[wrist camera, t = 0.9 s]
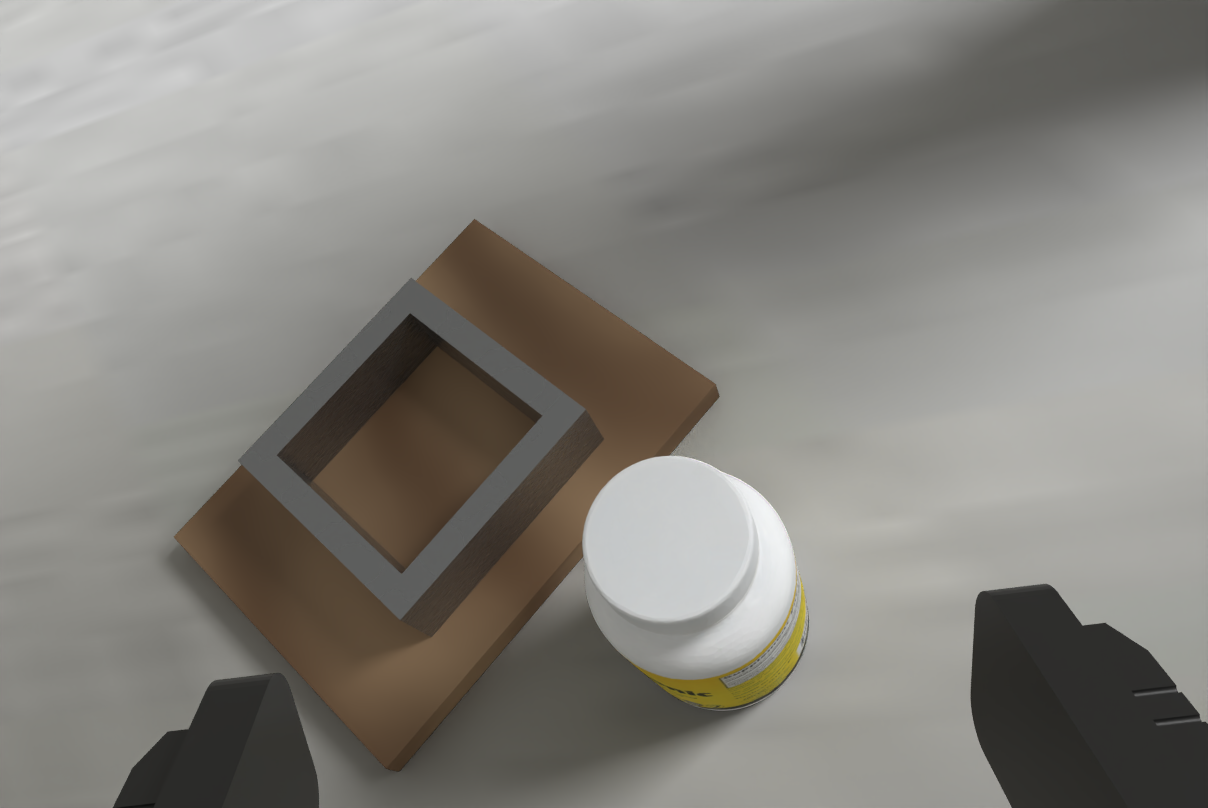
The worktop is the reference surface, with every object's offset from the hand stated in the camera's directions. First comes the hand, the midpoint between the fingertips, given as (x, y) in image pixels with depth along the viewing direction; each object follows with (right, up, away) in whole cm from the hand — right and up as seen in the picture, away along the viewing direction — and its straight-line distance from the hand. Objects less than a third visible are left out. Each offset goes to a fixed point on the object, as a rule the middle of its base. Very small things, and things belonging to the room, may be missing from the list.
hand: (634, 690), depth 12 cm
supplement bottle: (+3, -4, +20) cm, 21 cm away
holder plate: (-6, +1, +24) cm, 25 cm away
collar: (-6, +1, +24) cm, 24 cm away
